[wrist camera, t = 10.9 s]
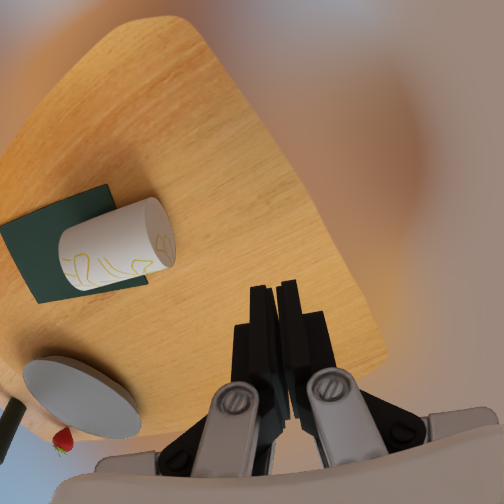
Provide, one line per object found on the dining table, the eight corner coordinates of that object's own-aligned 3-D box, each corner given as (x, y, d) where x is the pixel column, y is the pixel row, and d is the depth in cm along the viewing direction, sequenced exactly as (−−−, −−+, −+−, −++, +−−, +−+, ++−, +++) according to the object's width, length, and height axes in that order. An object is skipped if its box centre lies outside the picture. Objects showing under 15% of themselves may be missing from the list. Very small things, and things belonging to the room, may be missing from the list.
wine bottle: (22, 410, 68) (-10, 487, 41) (8, 398, 65) (-27, 475, 39) (29, 408, 66) (-5, 489, 40) (14, 396, 64) (-23, 477, 38)
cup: (178, 277, 37) (97, 298, 38) (173, 218, 40) (97, 243, 41) (145, 250, 29) (56, 278, 31) (144, 183, 33) (61, 216, 34)
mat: (-1, 227, 39) (-2, 227, 38) (107, 183, 36) (106, 184, 36) (38, 302, 46) (38, 303, 45) (148, 283, 43) (147, 284, 43)
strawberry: (82, 432, 69) (73, 461, 60) (69, 434, 71) (60, 460, 62) (66, 421, 67) (56, 450, 58) (54, 423, 69) (44, 450, 60)
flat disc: (109, 432, 67) (105, 446, 63) (19, 371, 57) (11, 384, 53) (171, 404, 58) (168, 422, 54) (55, 322, 48) (44, 339, 44)
